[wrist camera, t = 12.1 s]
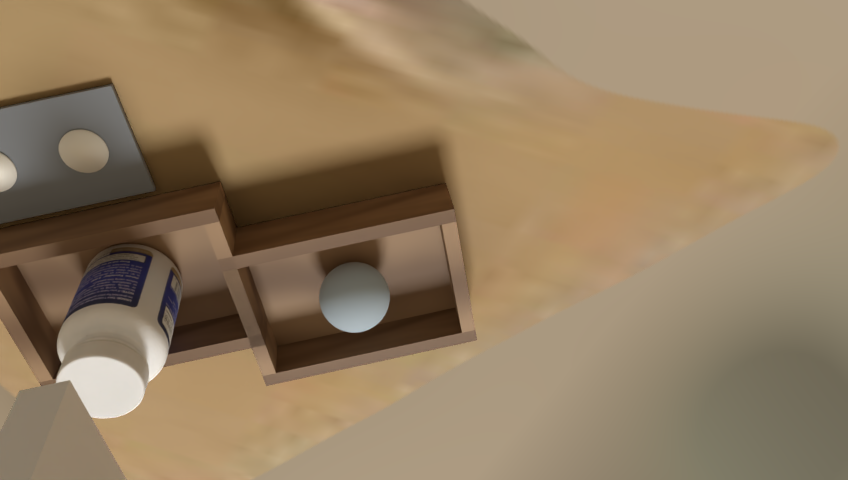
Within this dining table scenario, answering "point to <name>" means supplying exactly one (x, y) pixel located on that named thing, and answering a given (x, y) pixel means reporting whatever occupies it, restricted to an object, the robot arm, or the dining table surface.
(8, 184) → the card
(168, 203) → the cradle
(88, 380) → the pill bottle
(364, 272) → the ball
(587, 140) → the dining table surface
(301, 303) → the cradle
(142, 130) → the dining table surface
